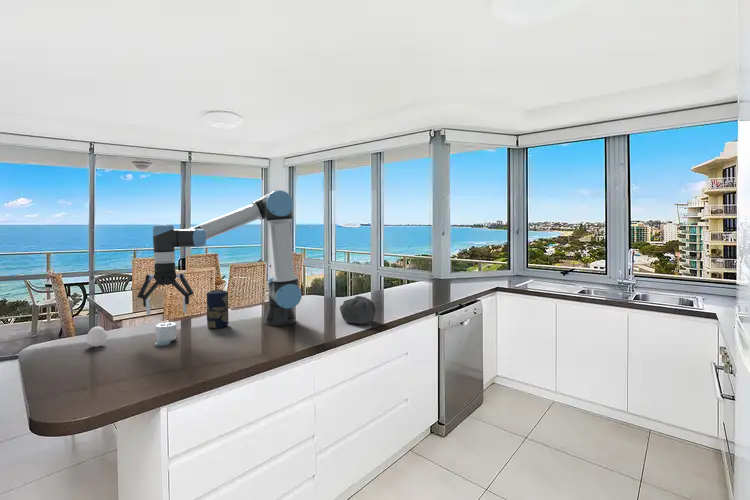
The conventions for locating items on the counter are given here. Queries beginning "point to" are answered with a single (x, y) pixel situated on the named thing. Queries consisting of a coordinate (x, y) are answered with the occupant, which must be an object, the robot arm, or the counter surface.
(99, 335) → the egg
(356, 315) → the rock
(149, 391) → the counter surface
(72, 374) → the counter surface
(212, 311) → the canister
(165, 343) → the shaft stand
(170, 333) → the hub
